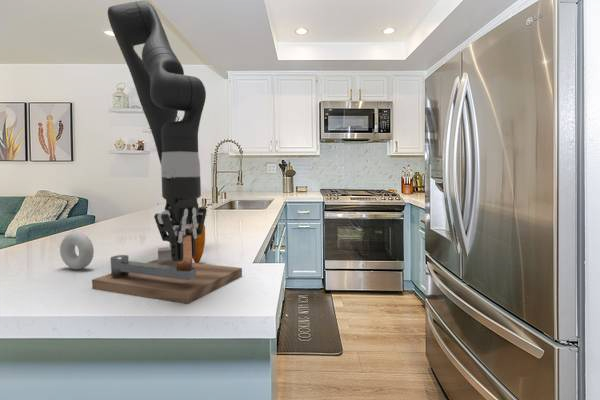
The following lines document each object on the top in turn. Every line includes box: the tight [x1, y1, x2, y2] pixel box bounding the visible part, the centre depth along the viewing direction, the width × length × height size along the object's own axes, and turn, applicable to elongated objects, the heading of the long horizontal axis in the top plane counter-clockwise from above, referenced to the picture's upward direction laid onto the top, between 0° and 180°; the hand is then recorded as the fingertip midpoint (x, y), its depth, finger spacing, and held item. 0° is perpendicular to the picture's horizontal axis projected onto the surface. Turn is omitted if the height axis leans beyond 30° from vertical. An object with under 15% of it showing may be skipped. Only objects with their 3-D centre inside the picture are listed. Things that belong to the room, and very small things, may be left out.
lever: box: [110, 234, 196, 280], centre depth 80 cm, size 4×22×10 cm, turn 68°
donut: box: [59, 231, 95, 271], centre depth 97 cm, size 10×4×10 cm, turn 71°
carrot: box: [189, 224, 206, 263], centre depth 102 cm, size 5×5×15 cm
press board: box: [91, 246, 243, 304], centre depth 85 cm, size 20×26×7 cm
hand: (183, 258), depth 76 cm, fingers closed on lever, 3 cm apart
